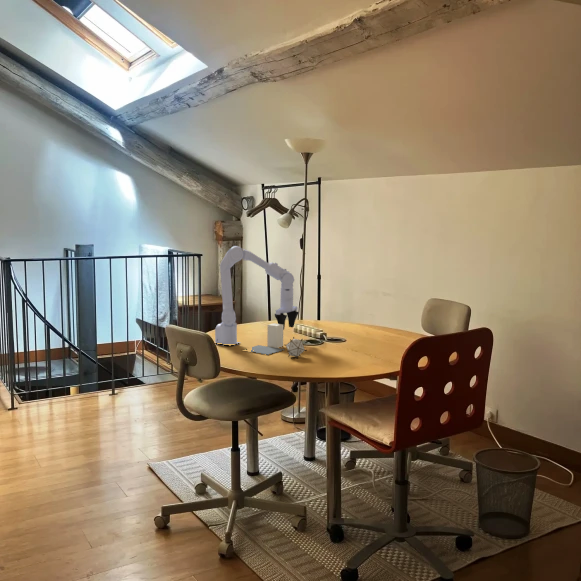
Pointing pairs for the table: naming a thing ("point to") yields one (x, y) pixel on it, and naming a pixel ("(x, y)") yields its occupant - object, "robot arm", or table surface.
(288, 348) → the game die
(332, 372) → the table surface
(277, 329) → the tall block
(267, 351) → the slate mat
